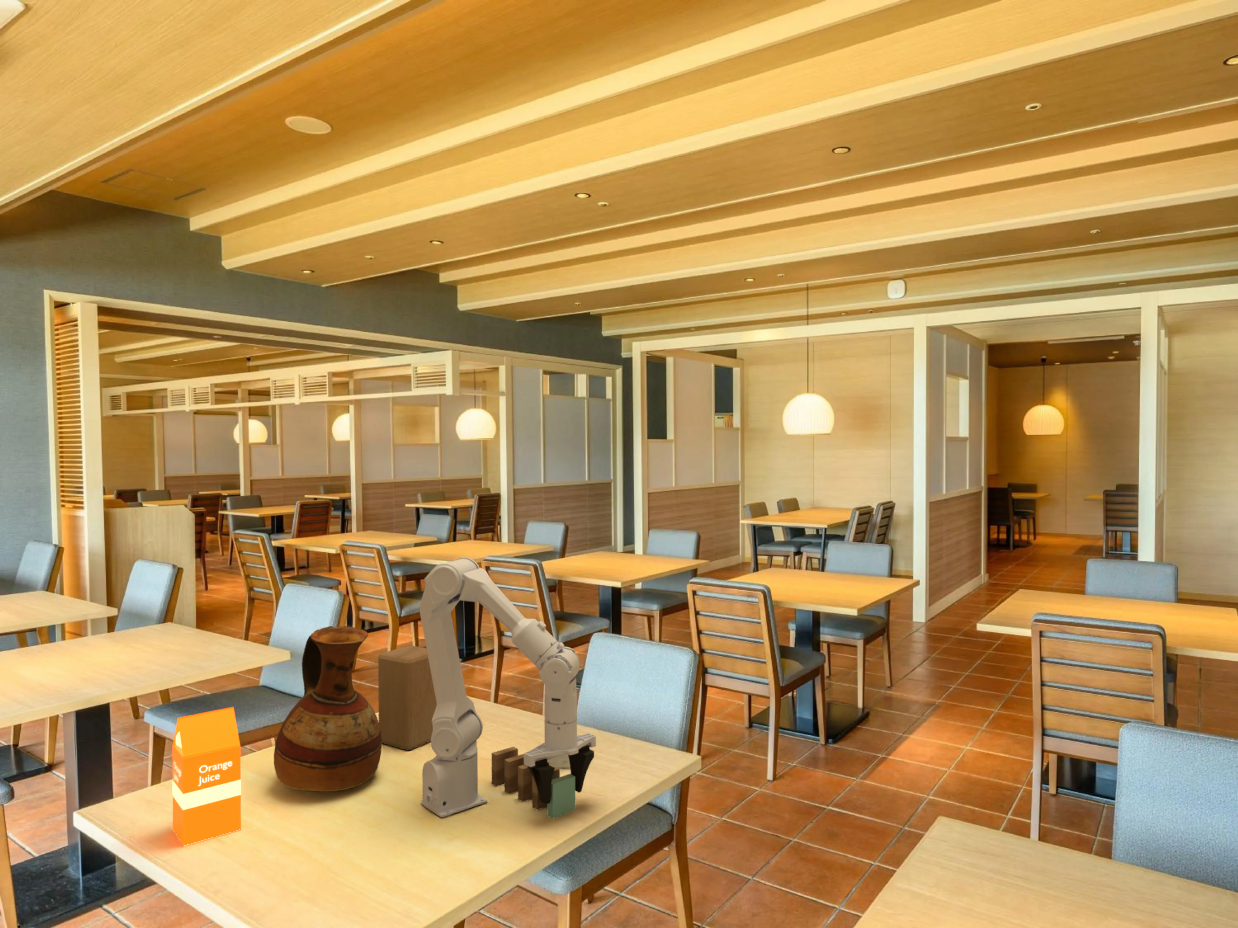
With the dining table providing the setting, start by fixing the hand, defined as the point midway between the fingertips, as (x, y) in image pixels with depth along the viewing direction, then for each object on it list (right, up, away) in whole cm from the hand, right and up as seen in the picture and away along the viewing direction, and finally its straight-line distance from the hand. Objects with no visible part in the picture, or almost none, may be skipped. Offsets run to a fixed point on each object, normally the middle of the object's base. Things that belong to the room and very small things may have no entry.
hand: (561, 795), depth 137 cm
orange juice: (-60, -3, -6) cm, 60 cm away
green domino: (0, -3, 0) cm, 3 cm away
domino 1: (-12, -3, +13) cm, 18 cm away
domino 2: (-9, -3, +10) cm, 14 cm away
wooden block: (-36, -3, +36) cm, 51 cm away
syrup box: (-2, -3, +22) cm, 23 cm away
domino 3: (-6, -3, +7) cm, 9 cm away
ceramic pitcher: (-46, -3, +14) cm, 48 cm away
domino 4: (-3, -3, +3) cm, 5 cm away
